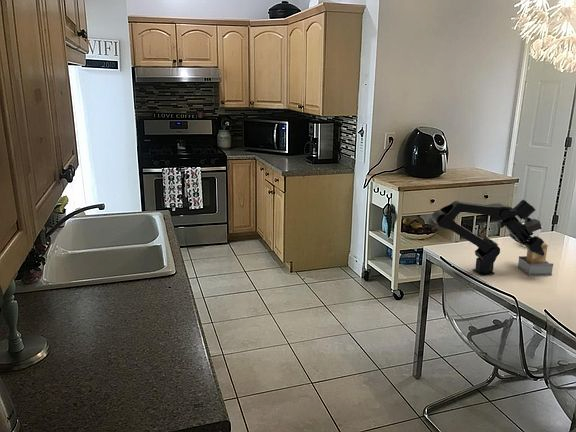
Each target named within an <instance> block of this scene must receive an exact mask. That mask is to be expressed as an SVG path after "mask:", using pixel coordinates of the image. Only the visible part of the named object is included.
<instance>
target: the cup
mask: <svg viewBox="0 0 576 432" xmlns="http://www.w3.org/2000/svg"><path fill="white" fill-rule="evenodd" d="M521 223H522V224H525V223H524V222H521ZM541 232H542V229H539V230H536V231H534V232H533V235H530V236H531V237H534V236H538V237H539V236H540V235H541ZM539 238H540V237H539ZM529 239H530V238H529ZM521 247H523V248H525V249H527V248H526V246H525V245H523V244H521Z"/></svg>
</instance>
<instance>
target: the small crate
mask: <svg viewBox="0 0 576 432" xmlns="http://www.w3.org/2000/svg"><path fill="white" fill-rule="evenodd" d="M541 247H542V249H543V251H544V254H545V255H543V256H542V255H539V254H537V253H534V252H531V251H530V250H529V249H527V248H526V249H527V251H526V256H527V257H526V262H527V263H528V264H545V260H546V258H547V254H548V247H549V245H548V244H547V243H546V242H545V241H544V243H543V244H542V245H541ZM546 261H547V260H546Z"/></svg>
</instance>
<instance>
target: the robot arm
mask: <svg viewBox="0 0 576 432" xmlns="http://www.w3.org/2000/svg"><path fill="white" fill-rule="evenodd" d="M535 212H536V208H535V207H534V206H533V205H531V204H530V203H529V202H527V200H525V199H521V201H519V203H518V204H516V205H515V207H511V206H507V205H504V204H503V203H500V202H499V203H489V204H482V203H475V202H474V203H473V202H464V201H459V200H455V201H453V202H451V203H450V204H448V205H445V206H443V207H442V208H439V209H437V210H434V212H433V213H432V215H431V220H432V222H433V223H435V224H436V225H437V226H438V227H440V228H443V229H445V230H448V231H451V232H453V233H455V234H456V235H458V236H460V237H462V238H463V239H465V240H466V241H468V242H469V243H471V244H473V245H475V247H477V249H475V251H474V255H475V256H476V257H477V258H476V261H475V267H474V268H473V269H472V271H473V272H475V273H477V274H478V275H480V276H488V275H490V276H491V275H494V274H495V272H494V265H495V261H496V260H497V257H498V256H499V255H500V253H501V248H500V247H499V244H498V243H497V242H496V241H494V240H493V239H490V238H489V237H488V236H486V235H484V237H480V236H478V235H477V234H475V233H474V232H471V230H469V229H467V228H465V227H463V226H462V225H461V224H459V223H457V222H456V221H455V219H456V218H457V217H458V215H459V214H460V213H468V214H475V215H477V214H478V215H485V216H489V217H492V218H495V219H498V220H497V227H499V228H501V229H503V228H504V227H505V228H506V229H507V230H508V232H509V237H510V238H511V239H512V240H514V241H515V242H516V243H519V244H521V245H522V244H523V245H525V246H526V248H525V249H529V250H530V251H531V252H534V253H537V254H539V255H542V256H543V255H545V254H544V251H543V249H542V247H541V245H542V244H543V243H544V242H545V240H543V238H541V237H538V236H534V237H531V236H530V235H533V232H534V231H536V230H539V229H541V230H542V229H543V226H542V223H541V222H540V220H539V219H537V218H530V216H531V215H532V214H533V213H535ZM521 220H523V221H524V222H521ZM522 223H525V224H522ZM529 238H530V239H529Z"/></svg>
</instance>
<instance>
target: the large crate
mask: <svg viewBox="0 0 576 432" xmlns="http://www.w3.org/2000/svg"><path fill="white" fill-rule="evenodd" d="M526 257H527V255H526V256H525V255H524V256H523V255H522V256H518V263H517V268H518V269H519V270H521V271H522V272H523V273H525V274H526V275H527V276H529V277H530V276H531V277H533V276H535V277H536V276H552V274H553V267H554V263H552V262H551V263H550V262H549V261H547V260H545V264H528V263H527V262H526Z"/></svg>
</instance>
